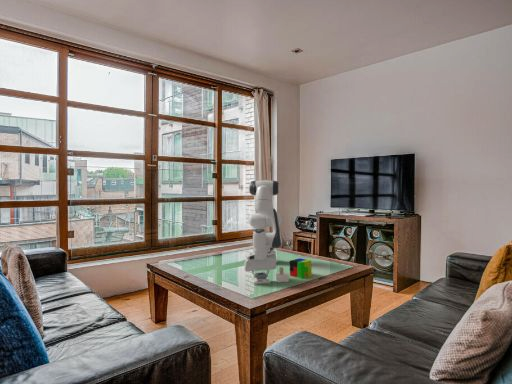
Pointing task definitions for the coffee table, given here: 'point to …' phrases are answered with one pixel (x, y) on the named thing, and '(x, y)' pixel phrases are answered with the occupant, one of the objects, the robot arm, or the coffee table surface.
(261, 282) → the coaster
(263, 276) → the ring
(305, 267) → the puzzle toy
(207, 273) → the coffee table surface
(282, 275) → the peg stand
